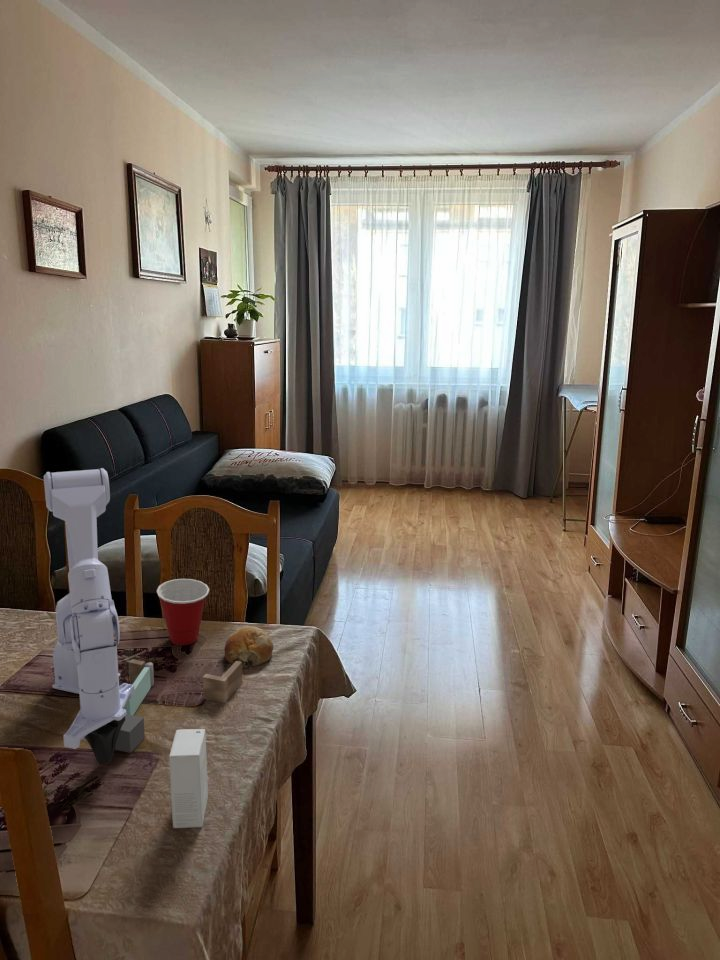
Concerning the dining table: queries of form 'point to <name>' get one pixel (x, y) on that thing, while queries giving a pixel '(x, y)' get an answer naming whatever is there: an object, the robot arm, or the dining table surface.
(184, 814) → the skincare box
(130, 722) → the gray cube block
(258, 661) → the bread roll
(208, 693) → the wooden blocks
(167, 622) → the plastic cup
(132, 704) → the door
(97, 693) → the robot arm
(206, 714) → the dining table surface
